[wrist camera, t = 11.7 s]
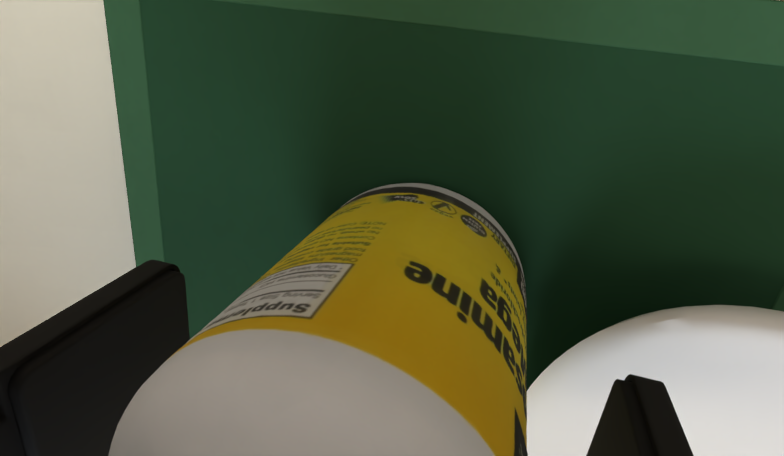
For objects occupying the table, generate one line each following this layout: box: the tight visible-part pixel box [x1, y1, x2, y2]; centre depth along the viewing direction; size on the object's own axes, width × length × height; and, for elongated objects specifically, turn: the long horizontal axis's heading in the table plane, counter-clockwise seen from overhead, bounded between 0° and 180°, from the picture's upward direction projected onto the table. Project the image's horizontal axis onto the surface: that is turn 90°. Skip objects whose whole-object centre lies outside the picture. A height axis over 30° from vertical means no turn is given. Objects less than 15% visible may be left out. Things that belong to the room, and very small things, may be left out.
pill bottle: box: [108, 183, 528, 456], centre depth 9 cm, size 6×6×11 cm
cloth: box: [104, 0, 784, 390], centre depth 14 cm, size 20×16×1 cm
